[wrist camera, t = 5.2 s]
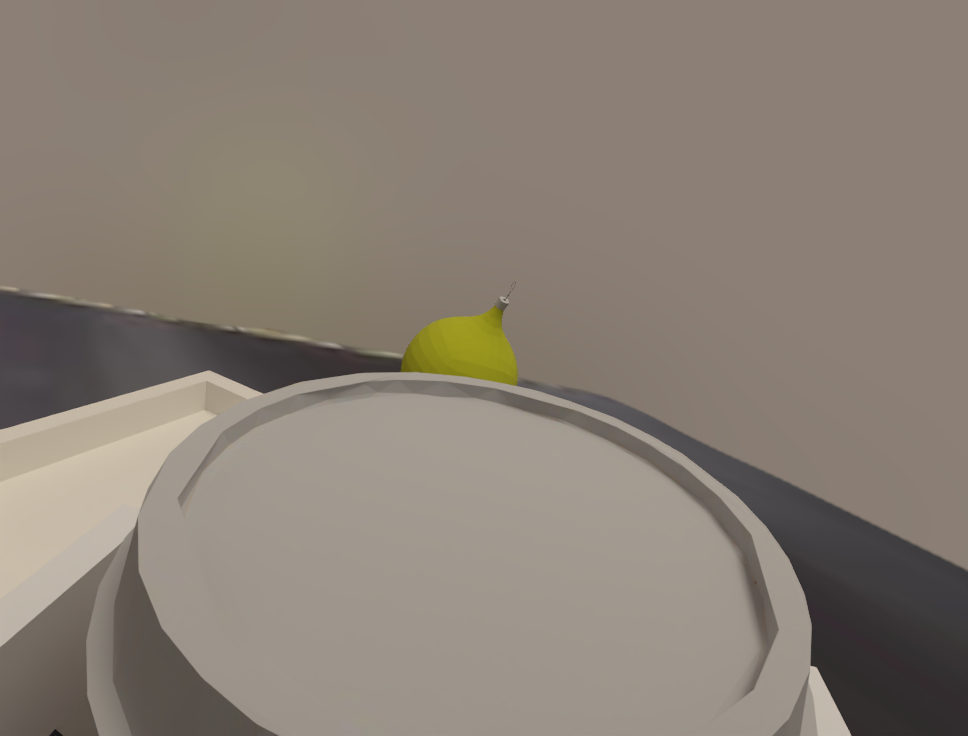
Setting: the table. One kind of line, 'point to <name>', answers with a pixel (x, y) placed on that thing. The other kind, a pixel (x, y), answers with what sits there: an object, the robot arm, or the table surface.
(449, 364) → the ornament
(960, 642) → the table surface
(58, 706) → the robot arm
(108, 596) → the disposable coffee cup
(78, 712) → the square tray
